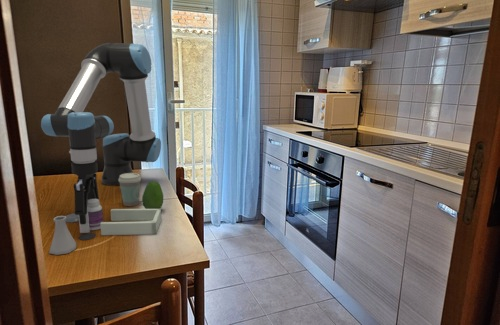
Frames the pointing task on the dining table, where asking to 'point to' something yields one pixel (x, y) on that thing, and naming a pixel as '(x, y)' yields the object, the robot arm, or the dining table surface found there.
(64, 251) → the flask
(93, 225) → the pill bottle
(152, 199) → the fruit
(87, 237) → the hole pad
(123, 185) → the coffee cup
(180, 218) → the dining table surface
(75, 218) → the coaster
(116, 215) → the frame
